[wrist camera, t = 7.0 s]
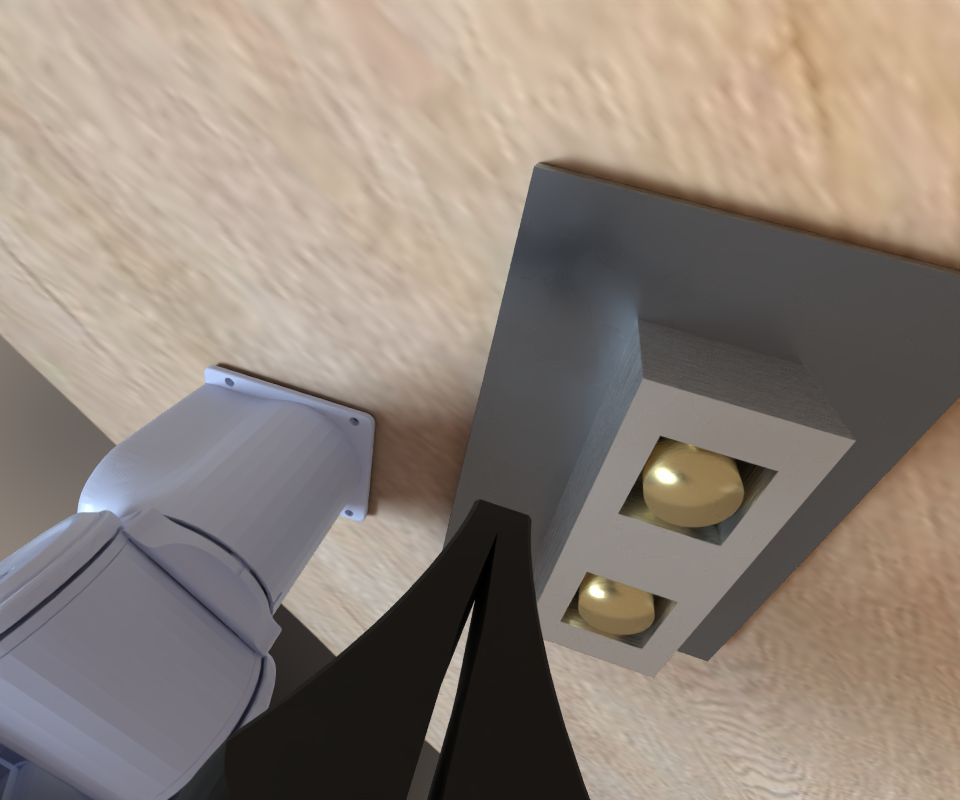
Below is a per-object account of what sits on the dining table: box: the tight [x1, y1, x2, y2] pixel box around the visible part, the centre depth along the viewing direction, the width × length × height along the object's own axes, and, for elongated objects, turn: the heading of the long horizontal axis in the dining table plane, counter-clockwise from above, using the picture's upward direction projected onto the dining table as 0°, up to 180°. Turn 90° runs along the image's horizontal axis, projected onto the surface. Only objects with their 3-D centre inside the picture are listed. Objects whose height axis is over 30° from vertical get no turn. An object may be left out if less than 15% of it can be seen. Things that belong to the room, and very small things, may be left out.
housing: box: [533, 319, 856, 678], centre depth 19 cm, size 6×14×4 cm, turn 169°
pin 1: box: [578, 572, 655, 635], centre depth 21 cm, size 3×3×4 cm
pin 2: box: [642, 436, 744, 527], centre depth 17 cm, size 3×3×4 cm
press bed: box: [442, 162, 960, 661], centre depth 22 cm, size 16×22×1 cm
